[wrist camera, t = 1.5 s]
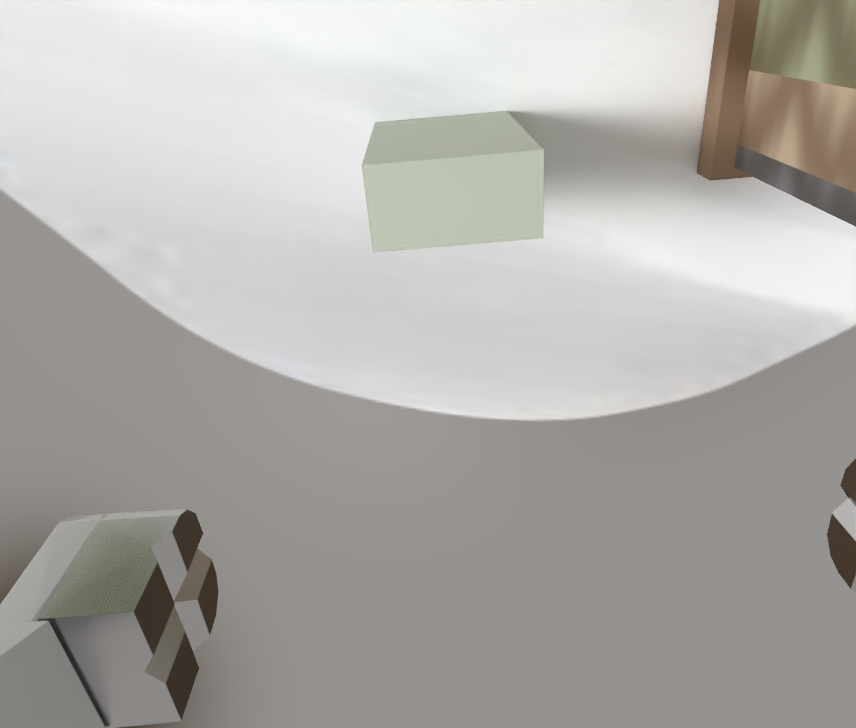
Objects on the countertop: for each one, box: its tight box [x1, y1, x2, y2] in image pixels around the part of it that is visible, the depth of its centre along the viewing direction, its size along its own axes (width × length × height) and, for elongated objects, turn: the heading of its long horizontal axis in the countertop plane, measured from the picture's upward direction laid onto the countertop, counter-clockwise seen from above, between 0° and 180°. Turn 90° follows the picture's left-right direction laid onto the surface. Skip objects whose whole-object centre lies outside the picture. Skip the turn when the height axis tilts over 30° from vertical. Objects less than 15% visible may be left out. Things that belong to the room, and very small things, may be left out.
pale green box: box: [362, 111, 544, 252], centre depth 25 cm, size 3×6×9 cm, turn 95°
